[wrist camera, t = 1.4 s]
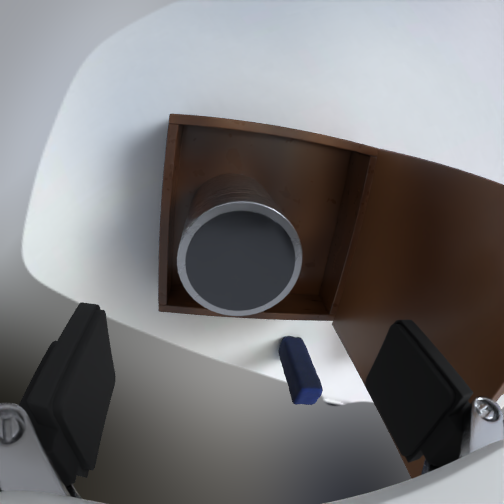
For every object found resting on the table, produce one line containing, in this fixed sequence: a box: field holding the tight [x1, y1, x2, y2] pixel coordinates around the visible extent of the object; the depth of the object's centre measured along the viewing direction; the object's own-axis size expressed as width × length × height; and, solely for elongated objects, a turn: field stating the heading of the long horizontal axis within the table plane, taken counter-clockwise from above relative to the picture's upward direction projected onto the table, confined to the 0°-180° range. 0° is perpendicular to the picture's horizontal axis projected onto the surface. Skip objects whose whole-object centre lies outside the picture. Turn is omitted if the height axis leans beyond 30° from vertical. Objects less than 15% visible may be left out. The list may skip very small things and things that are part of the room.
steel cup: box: [177, 173, 303, 316], centre depth 18 cm, size 6×6×8 cm
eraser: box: [279, 336, 323, 405], centre depth 25 cm, size 2×2×7 cm
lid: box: [332, 149, 504, 478], centre depth 14 cm, size 14×13×5 cm
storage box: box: [158, 114, 378, 321], centre depth 21 cm, size 13×13×4 cm
